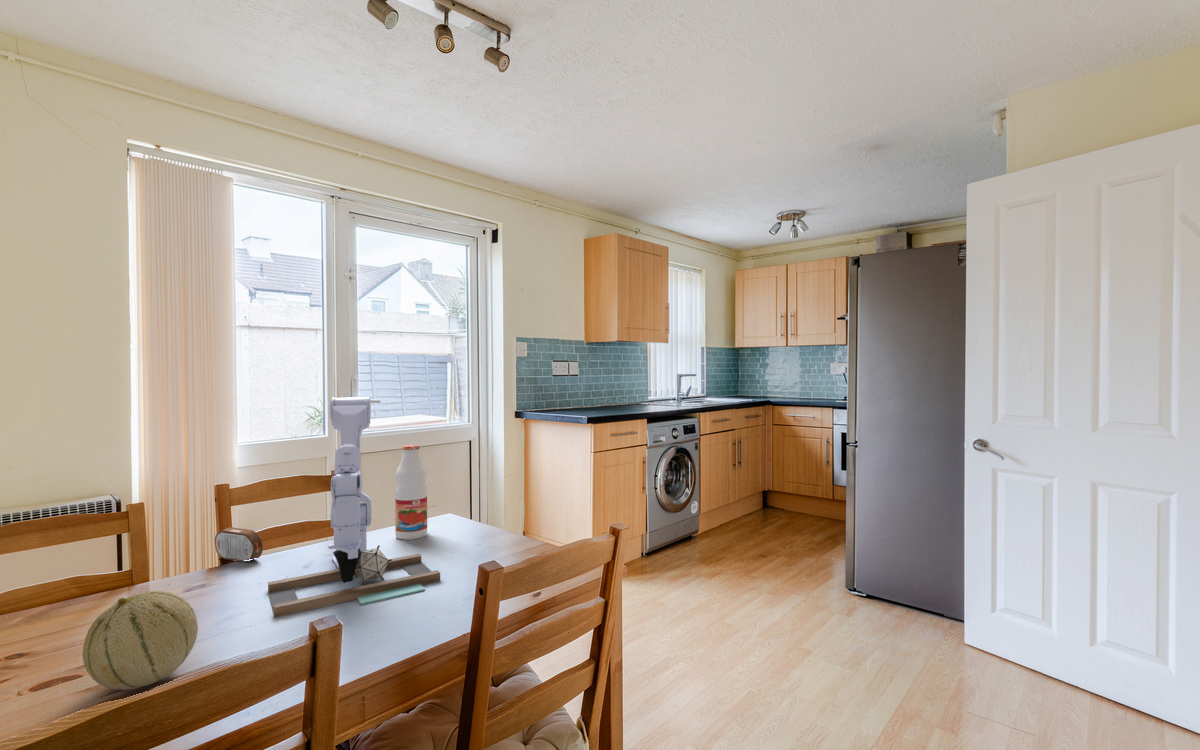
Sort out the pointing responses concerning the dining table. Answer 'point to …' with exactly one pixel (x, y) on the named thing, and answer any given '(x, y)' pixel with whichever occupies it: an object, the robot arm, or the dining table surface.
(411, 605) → the dining table surface
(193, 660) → the dining table surface
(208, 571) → the dining table surface
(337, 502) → the robot arm
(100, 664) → the cantaloupe
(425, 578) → the lane rails
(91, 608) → the dining table surface
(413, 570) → the mats
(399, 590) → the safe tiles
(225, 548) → the tin
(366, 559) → the game die
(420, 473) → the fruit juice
